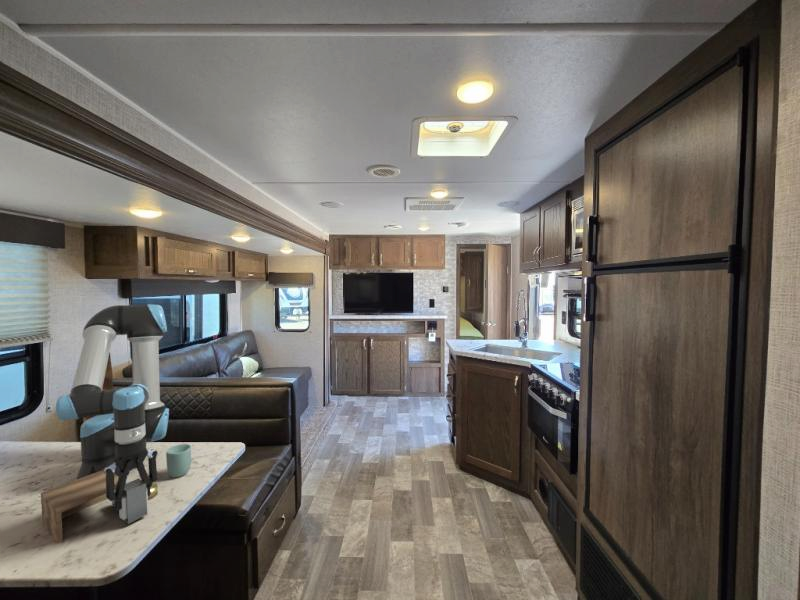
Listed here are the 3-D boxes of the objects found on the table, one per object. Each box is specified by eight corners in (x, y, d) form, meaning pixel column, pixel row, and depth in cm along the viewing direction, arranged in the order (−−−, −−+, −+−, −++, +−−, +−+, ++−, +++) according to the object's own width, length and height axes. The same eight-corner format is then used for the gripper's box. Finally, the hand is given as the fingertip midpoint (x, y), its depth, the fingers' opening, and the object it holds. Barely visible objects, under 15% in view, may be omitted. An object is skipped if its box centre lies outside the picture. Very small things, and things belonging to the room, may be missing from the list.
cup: (174, 469, 136) (173, 444, 135) (195, 468, 137) (194, 443, 136) (162, 480, 128) (161, 454, 128) (184, 479, 129) (183, 453, 128)
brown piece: (42, 525, 105) (40, 493, 104) (108, 496, 119) (106, 468, 118) (58, 543, 98) (56, 509, 97) (126, 511, 111) (124, 481, 111)
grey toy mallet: (107, 506, 112) (105, 476, 111) (125, 498, 116) (124, 469, 116) (128, 523, 104) (126, 491, 103) (147, 514, 108) (145, 483, 108)
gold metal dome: (133, 497, 118) (132, 489, 118) (153, 489, 123) (152, 480, 123) (140, 504, 115) (140, 495, 115) (161, 494, 120) (160, 486, 120)
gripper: (98, 455, 96) (102, 535, 98) (168, 430, 112) (171, 500, 113) (87, 448, 100) (92, 525, 102) (157, 425, 116) (160, 493, 117)
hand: (134, 512), depth 107 cm, fingers closed on grey toy mallet, 5 cm apart
